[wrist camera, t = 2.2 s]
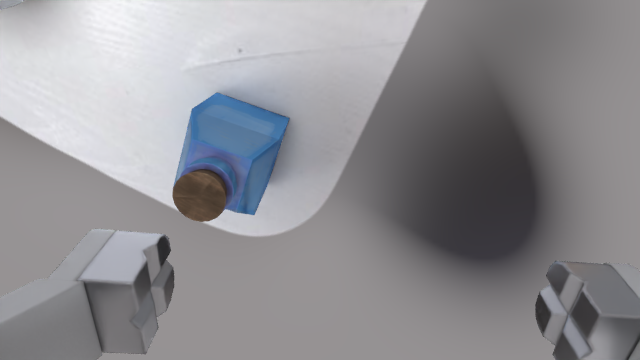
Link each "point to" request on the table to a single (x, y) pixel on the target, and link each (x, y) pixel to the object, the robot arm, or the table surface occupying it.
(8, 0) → the cup
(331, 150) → the table surface
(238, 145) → the perfume bottle
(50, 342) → the robot arm
